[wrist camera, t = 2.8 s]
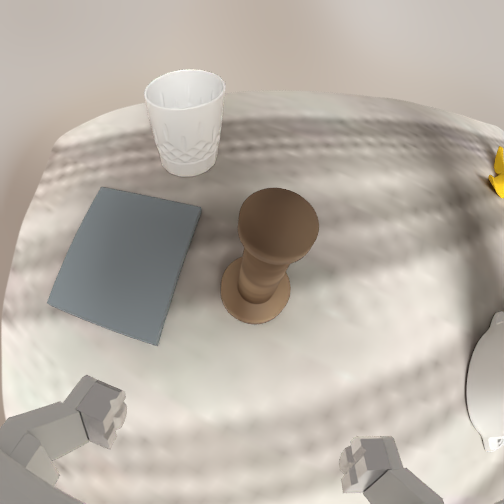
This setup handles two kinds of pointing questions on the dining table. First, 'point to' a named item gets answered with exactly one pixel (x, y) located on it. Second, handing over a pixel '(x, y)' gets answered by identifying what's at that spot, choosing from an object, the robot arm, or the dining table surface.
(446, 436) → the dining table surface
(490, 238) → the dining table surface
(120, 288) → the gray book
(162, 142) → the white cup
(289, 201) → the brown post
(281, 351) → the dining table surface
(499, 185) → the banana peel
